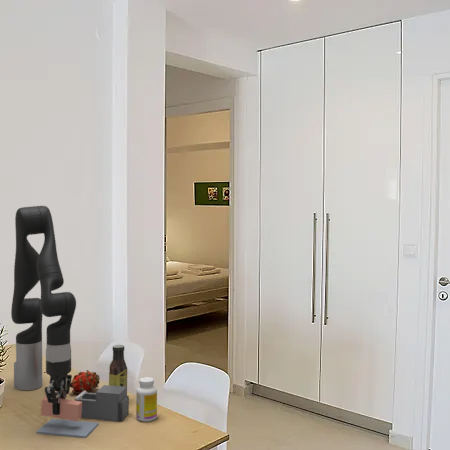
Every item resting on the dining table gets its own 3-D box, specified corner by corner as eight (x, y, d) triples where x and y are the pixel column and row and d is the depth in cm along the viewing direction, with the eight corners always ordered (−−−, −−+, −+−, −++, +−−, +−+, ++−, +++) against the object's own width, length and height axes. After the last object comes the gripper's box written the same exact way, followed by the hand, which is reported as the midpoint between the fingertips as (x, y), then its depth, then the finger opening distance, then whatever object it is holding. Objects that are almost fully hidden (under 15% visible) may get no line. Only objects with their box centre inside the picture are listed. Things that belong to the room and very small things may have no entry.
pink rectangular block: (40, 415, 176) (41, 399, 175) (45, 411, 179) (46, 395, 178) (76, 421, 173) (78, 405, 173) (81, 417, 176) (82, 401, 176)
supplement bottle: (160, 416, 186) (161, 378, 186) (149, 423, 180) (150, 384, 180) (143, 412, 189) (143, 375, 189) (132, 420, 183) (132, 381, 183)
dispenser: (74, 417, 185) (74, 390, 184) (83, 409, 191) (83, 383, 191) (121, 421, 182) (121, 394, 181) (128, 413, 189) (128, 386, 188)
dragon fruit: (102, 393, 211) (71, 405, 204) (93, 375, 216) (63, 386, 209) (105, 380, 206) (74, 391, 199) (96, 362, 211) (65, 372, 204)
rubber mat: (36, 433, 172) (36, 431, 172) (51, 420, 182) (51, 418, 182) (85, 438, 170) (85, 436, 170) (99, 424, 179) (99, 422, 179)
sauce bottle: (123, 406, 194) (123, 349, 193) (105, 405, 196) (105, 348, 194) (130, 399, 201) (130, 344, 200) (113, 398, 202) (113, 343, 201)
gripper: (57, 350, 183) (58, 403, 184) (35, 363, 169) (36, 420, 170) (79, 351, 181) (80, 405, 182) (59, 364, 167) (59, 422, 168)
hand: (58, 412), depth 176 cm, fingers closed on pink rectangular block, 2 cm apart
